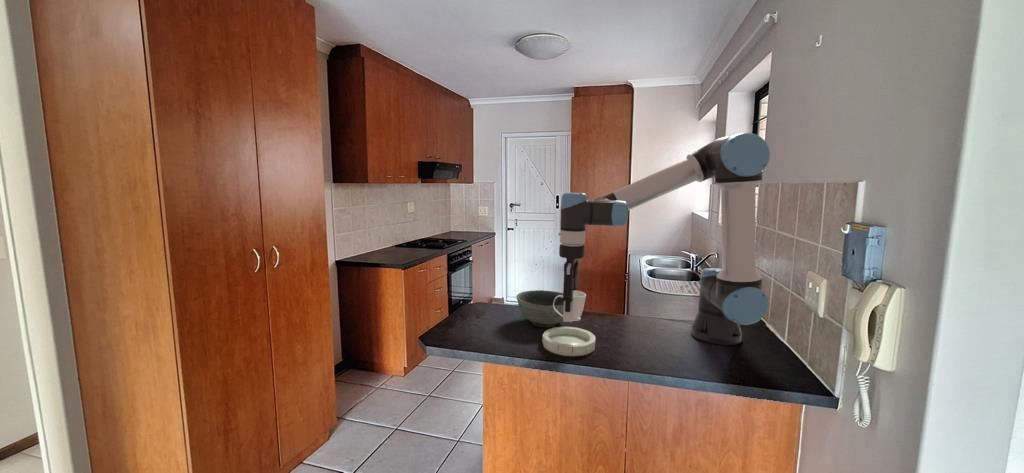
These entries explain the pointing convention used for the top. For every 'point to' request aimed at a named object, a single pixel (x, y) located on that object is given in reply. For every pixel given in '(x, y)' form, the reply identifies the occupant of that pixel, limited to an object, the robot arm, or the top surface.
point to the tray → (569, 341)
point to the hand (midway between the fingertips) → (569, 317)
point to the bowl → (541, 307)
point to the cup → (575, 304)
